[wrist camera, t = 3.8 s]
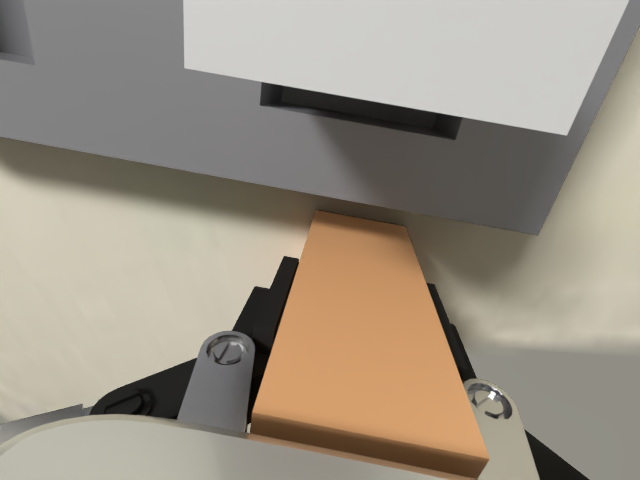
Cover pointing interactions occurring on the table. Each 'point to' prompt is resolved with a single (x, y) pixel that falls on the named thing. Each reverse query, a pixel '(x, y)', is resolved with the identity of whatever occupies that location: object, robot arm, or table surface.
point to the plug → (367, 356)
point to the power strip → (325, 93)
